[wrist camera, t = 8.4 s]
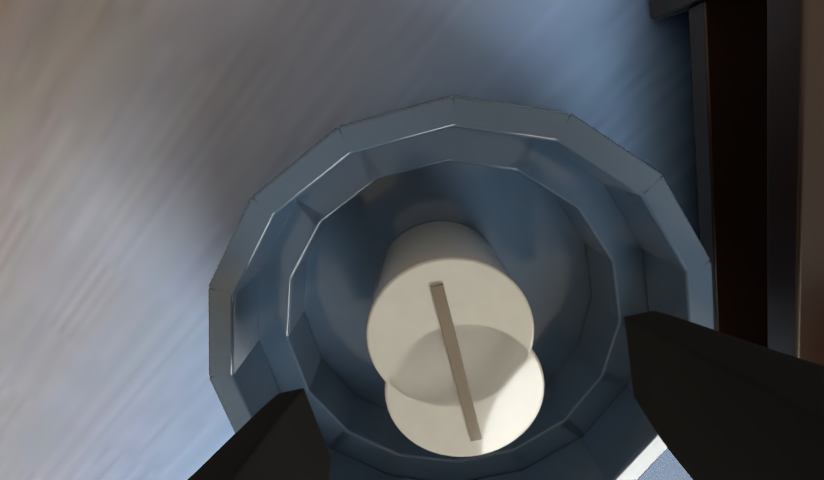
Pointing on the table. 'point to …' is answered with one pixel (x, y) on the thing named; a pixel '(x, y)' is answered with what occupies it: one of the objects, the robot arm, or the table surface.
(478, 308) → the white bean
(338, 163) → the bowl
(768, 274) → the rack
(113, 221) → the table surface
